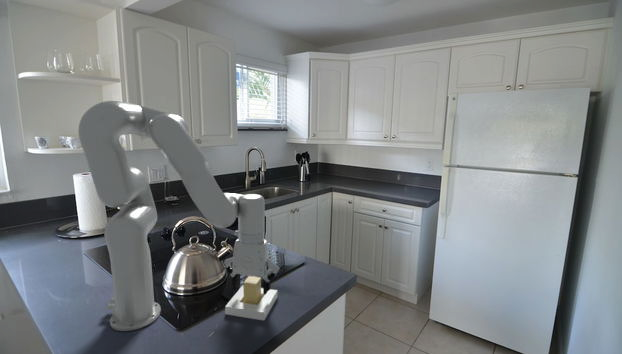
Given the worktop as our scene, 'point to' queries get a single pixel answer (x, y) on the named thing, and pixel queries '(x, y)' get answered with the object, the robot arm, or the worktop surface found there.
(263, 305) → the socket housing
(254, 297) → the plug block
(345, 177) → the worktop surface
